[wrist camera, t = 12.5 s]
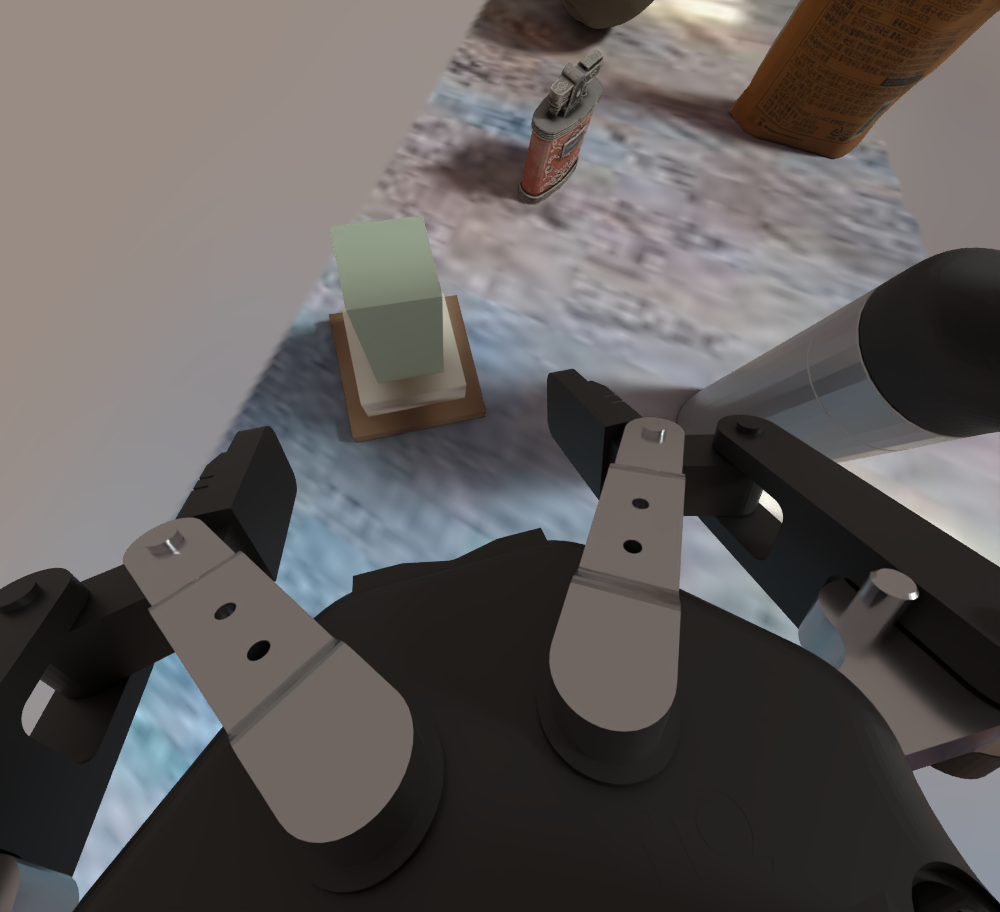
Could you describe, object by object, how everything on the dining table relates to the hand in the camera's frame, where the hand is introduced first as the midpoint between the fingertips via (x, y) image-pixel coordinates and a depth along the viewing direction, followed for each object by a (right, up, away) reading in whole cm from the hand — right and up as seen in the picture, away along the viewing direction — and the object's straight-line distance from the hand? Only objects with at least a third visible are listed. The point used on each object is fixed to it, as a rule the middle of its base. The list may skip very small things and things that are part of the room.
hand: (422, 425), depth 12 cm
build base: (-6, +7, +24) cm, 25 cm away
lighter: (+7, +28, +30) cm, 41 cm away
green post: (-5, +7, +19) cm, 21 cm away
